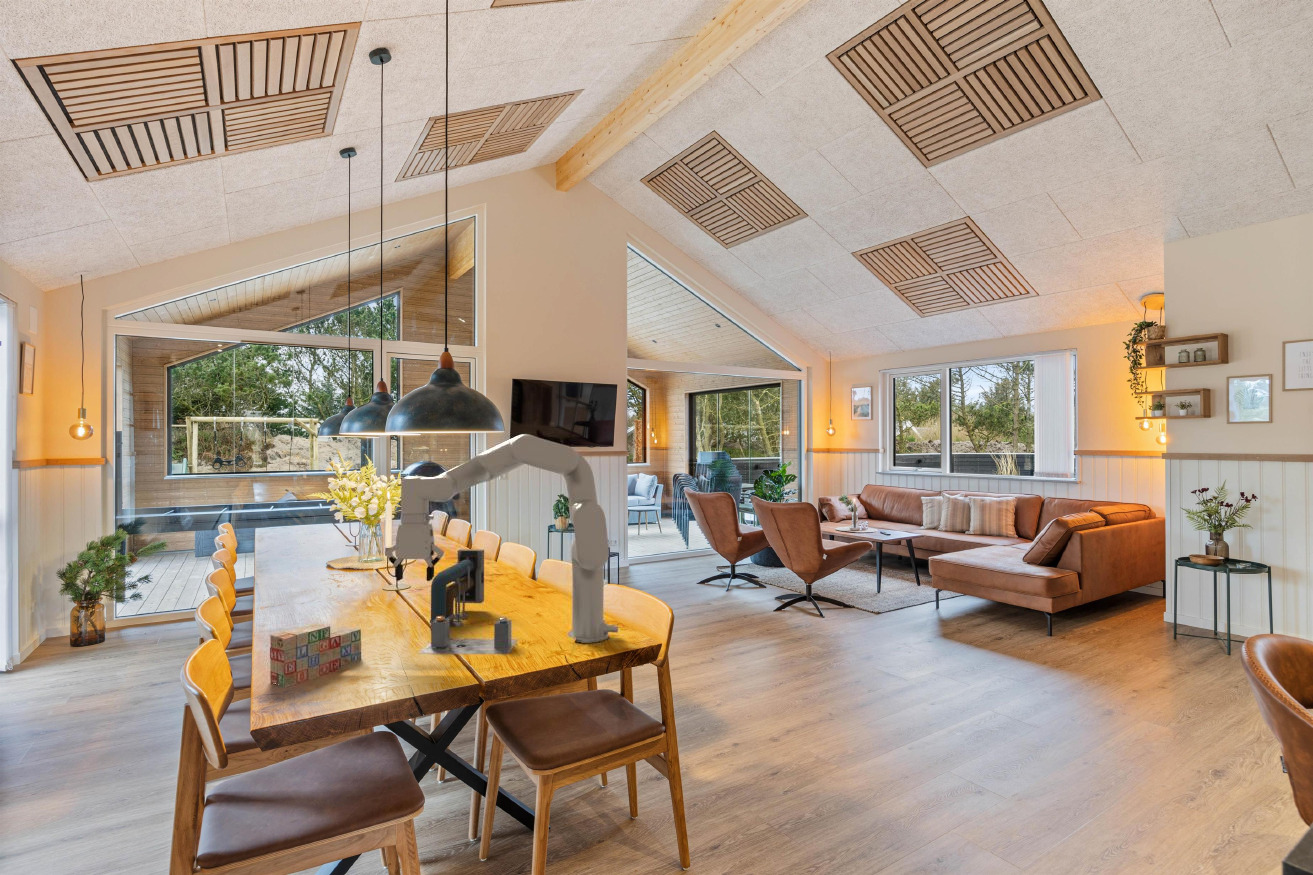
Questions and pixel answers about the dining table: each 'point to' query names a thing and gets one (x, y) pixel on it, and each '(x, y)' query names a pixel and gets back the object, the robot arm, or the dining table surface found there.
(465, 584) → the curved pipe assembly
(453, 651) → the hole plate
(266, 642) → the dining table surface
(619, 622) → the dining table surface
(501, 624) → the fixed leg
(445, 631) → the block
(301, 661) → the stack of blocks
